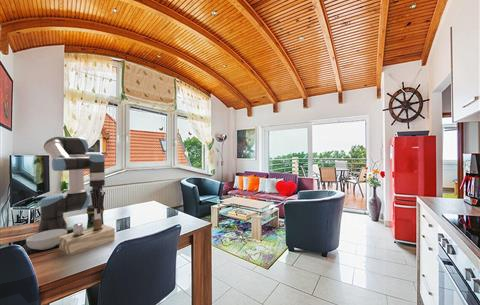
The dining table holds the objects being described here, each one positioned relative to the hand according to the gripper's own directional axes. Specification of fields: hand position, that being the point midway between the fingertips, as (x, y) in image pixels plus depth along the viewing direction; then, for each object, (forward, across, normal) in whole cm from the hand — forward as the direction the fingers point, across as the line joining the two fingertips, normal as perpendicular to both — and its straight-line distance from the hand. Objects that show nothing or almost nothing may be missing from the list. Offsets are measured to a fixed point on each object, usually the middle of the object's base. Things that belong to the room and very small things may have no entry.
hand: (97, 218), depth 123 cm
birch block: (+14, 0, -5) cm, 14 cm away
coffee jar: (+14, -16, +6) cm, 22 cm away
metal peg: (+8, 0, -10) cm, 13 cm away
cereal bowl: (+14, -17, -18) cm, 28 cm away
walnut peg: (+7, 0, 0) cm, 7 cm away
